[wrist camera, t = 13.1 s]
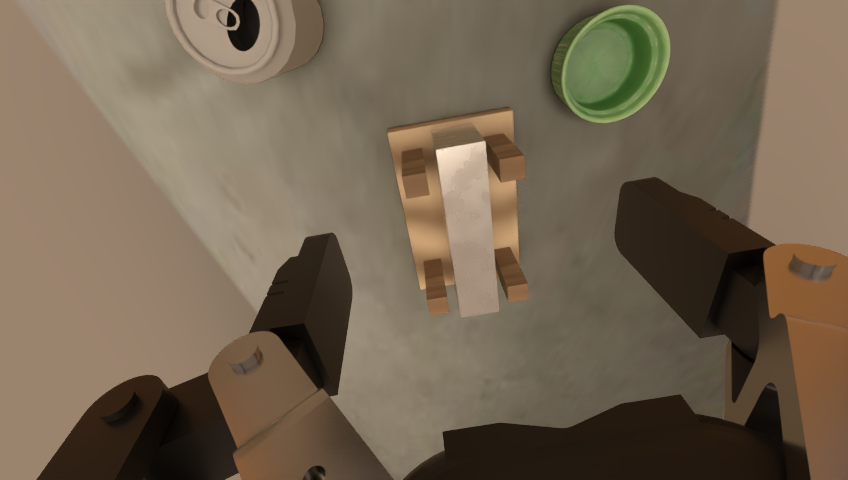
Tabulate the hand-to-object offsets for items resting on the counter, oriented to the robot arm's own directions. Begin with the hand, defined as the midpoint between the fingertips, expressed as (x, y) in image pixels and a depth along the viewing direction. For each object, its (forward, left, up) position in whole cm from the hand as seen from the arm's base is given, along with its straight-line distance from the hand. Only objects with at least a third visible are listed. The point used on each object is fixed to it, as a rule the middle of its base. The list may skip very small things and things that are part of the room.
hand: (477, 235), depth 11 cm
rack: (+12, +2, -28) cm, 31 cm away
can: (-8, -11, -28) cm, 31 cm away
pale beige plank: (+12, +2, -27) cm, 29 cm away
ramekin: (0, +16, -28) cm, 32 cm away
